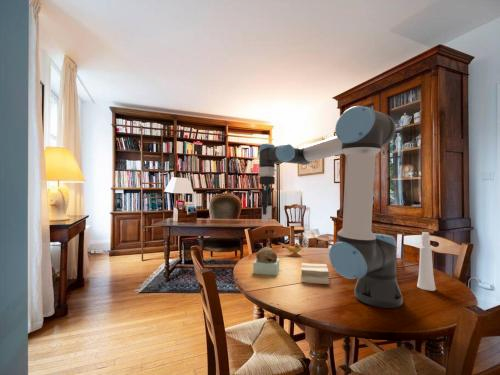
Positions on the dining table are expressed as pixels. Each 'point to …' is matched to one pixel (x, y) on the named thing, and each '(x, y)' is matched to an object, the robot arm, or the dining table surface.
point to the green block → (266, 267)
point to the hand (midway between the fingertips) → (266, 220)
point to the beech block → (315, 273)
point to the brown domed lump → (266, 255)
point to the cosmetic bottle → (426, 265)
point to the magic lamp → (294, 248)
